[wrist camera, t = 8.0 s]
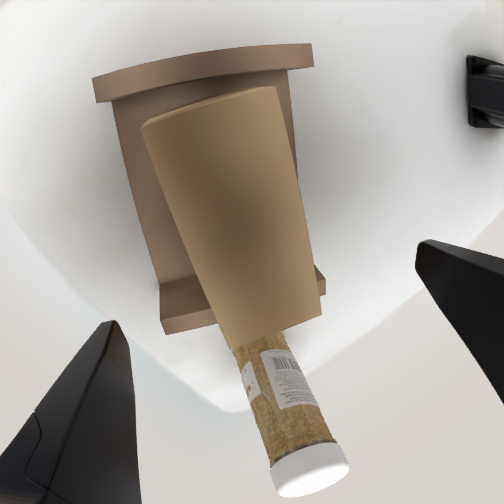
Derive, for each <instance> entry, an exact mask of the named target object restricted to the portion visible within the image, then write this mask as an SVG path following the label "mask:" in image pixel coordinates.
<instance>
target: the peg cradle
mask: <svg viewBox="0 0 504 504" xmlns="http://www.w3.org/2000/svg"><path fill="white" fill-rule="evenodd" d="M308 67H314V61H313V53H312V45H311V44H278V45H262V46H250V47H239V48H230V49H222V50H214V51H207V52H201V53H195V54H189V55H183V56H178V57H173V58H168V59H163V60H158V61H154V62H149V63H145V64H141V65H137V66H133V67H129V68H125V69H121V70H118V71H114V72H111V73H107V74H104V75H101V76H98V77H94V78H92V81H93V87H94V92H95V98H96V103H102V102H109V101H112V107H113V112H114V117H115V122H116V126H117V131H118V136H119V140H120V145H121V149H122V153H123V158H124V162H125V166H126V170H127V174H128V178H129V182H130V186H131V190H132V194H133V197H134V201H135V205H136V208H137V212H138V216H139V219H140V223H141V226H142V230H143V233H144V236H145V240H146V243H147V246H148V249H149V253H150V256H151V259H152V262H153V265H154V268H155V272H156V275H157V278H158V281H159V284H160V321H161V324H162V327H163V329H164V332H165V334H166V335H169V334H174V333H178V332H183V331H187V330H191V329H196V328H200V327H204V326H209V325H213V324H217V323H218V322H217V320H216V318H215V315H214V313H213V311H212V309H211V306H210V304H209V302H208V300H207V297H206V295H205V293H204V290H203V288H202V286H201V284H200V281H199V279H198V277H197V274H196V272H195V270H194V267H193V265H192V262H191V260H190V258H189V255H188V253H187V250H186V248H185V246H184V243H183V241H182V238H181V236H180V233H179V231H178V228H177V226H176V223H175V221H174V218H173V216H172V213H171V211H170V208H169V206H168V203H167V200H166V198H165V195H164V193H163V190H162V187H161V185H160V182H159V179H158V177H157V174H156V171H155V169H154V166H153V163H152V160H151V158H150V155H149V152H148V149H147V147H146V144H145V141H144V138H143V135H142V132H141V130H140V128H141V126H142V125H143V124H144V123H145V122H146V121H147V120H148V119H149V118H150V117H153V116H155V115H158V114H161V113H163V112H166V111H169V110H172V109H175V108H178V107H181V106H184V105H187V104H190V103H193V102H196V101H199V100H202V99H206V98H209V97H212V96H216V95H219V94H223V93H226V92H230V91H233V90H237V89H241V88H251V87H272V86H276V90H277V94H278V98H279V102H280V106H281V110H282V114H283V118H284V123H285V127H286V131H287V135H288V140H289V144H290V148H291V153H292V157H293V162H294V166H295V171H296V175H297V163H296V151H295V140H294V130H293V120H292V110H291V101H290V92H289V84H288V75H287V70H293V69H301V68H308ZM297 180H298V175H297ZM314 268H315V274H316V280H317V286H318V292H319V296H323V295H325V293H326V279H325V278H324V276H323V275H322V274H321V273H320V271H319V270H318V269H317V268H316V266H315V265H314Z"/></svg>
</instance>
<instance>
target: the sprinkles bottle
mask: <svg viewBox="0 0 504 504" xmlns="http://www.w3.org/2000/svg"><path fill="white" fill-rule="evenodd" d="M232 351H233V354H234V356H235V357H236V360H237V363H238V366H239V369H240V373H241V378H242V381H243V385H244V388H245V391H246V394H247V397H248V400H249V403H250V406H251V409H252V412H253V415H254V418H255V421H256V424H257V426H258V428H259V431H260V433H261V436H262V439H263V443H264V446H265V448H266V451H267V454H268V457H269V459H270V468H271V470H270V474H271V477H272V480H273V482H274V485H275V488H276V490H277V492H278V494H279V495H281V496H283V497H298V496H303V495H307V494H310V493H313V492H316V491H319V490H321V489H324V488H326V487H328V486H330V485H332V484H334V483H335V482H337V481H338V480H340V479H341V478H343V477H344V476H345V475H346V474H347V472H348V470H349V463H348V461H347V459H346V457H345V455H344V453H343V451H342V449H341V447H340V445H339V444H337V442H336V440H335V439H333V437H332V435H331V433H330V431H329V429H328V427H327V425H326V423H325V421H324V418H323V416H322V414H321V412H320V408H319V406H318V404H317V402H316V400H315V398H314V396H313V393H312V392H311V389H310V388H309V385H308V383H307V381H306V379H305V377H304V375H303V373H302V371H301V369H300V367H299V365H298V363H297V361H296V359H295V357H294V356H293V355H292V353H291V351H290V349H289V347H288V345H287V343H286V341H285V336H284V333H283V331H279V332H277V333H274V334H271V335H269V336H266V337H263V338H260V339H258V340H255V341H252V342H249V343H246V344H244V345H241V346H238V347H235V348H232Z"/></svg>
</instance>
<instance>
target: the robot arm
mask: <svg viewBox="0 0 504 504" xmlns="http://www.w3.org/2000/svg"><path fill="white" fill-rule="evenodd" d="M467 63H468V79H469V124H470V126H472V127H475V128H504V64H501V63H497V62H494V61H491V60H487V59H484V58H480V57H477V56H472V55H469V56H468V58H467ZM415 269H416V272H417V274H418V275H419V277H420V278H421V280H422V281H423V283H424V285H425V286H426V288H427V289H428V291H429V292H430V294H431V296H432V297H433V299H434V301H435V302H436V304H437V305H438V307H439V308H440V309H441V311H442V312H443V314H444V315H445V317H446V318H447V319H448V321H449V322H450V323H451V325H452V326H453V328H454V329H455V330H456V332H457V333H458V335H459V336H460V337H461V339H462V340H463V342H464V343H465V345H466V346H467V348H468V349H469V351H470V352H471V353H472V355H473V356H474V358H475V359H476V361H477V362H478V364H479V366H480V367H481V369H482V370H483V372H484V373H485V375H486V376H487V378H488V379H489V381H490V383H491V384H492V386H493V387H494V389H495V391H496V392H497V394H498V396H499V397H500V399H501V401H502V403H503V404H504V259H502V258H499V257H495V256H492V255H488V254H484V253H481V252H477V251H473V250H470V249H466V248H462V247H458V246H455V245H451V244H447V243H443V242H439V241H435V240H431V239H428V240H425V241H422V242H420V243H419V244H418V247H417V254H416V260H415ZM34 411H35V413H34V412H33V413H32V414H31V416H30V417H29V419H28V420H27V421H26V423H25V424H24V425H23V427H22V428H21V430H20V431H19V432H18V434H17V435H16V437H15V438H14V439H13V441H12V442H11V443H10V444H9V446H8V447H7V448H6V450H5V451H4V452H3V453H2V454H1V456H0V504H142V501H141V492H140V482H139V470H138V456H137V438H136V412H135V411H136V409H135V393H134V385H133V377H132V368H131V358H130V349H129V345H128V342H127V340H126V338H125V336H124V334H123V332H122V330H121V328H120V326H119V324H118V322H117V321H115V320H111V321H106V322H102V323H101V324H100V325H99V326H98V328H97V329H96V330H95V331H94V333H93V334H92V335H91V336H90V338H89V339H88V340H87V341H86V343H85V344H84V345H83V346H82V348H81V349H80V350H79V351H78V353H77V354H76V355H75V356H74V358H73V359H72V361H71V362H70V363H69V364H68V366H67V367H66V368H65V369H64V371H63V372H62V373H61V375H60V376H59V378H58V379H57V380H56V381H55V383H54V384H53V385H52V387H51V388H50V390H49V391H48V392H47V393H46V395H45V396H44V398H43V399H42V400H41V402H40V403H39V405H38V406H37V407H36V409H35V410H34Z"/></svg>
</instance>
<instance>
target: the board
mask: <svg viewBox="0 0 504 504" xmlns="http://www.w3.org/2000/svg"><path fill="white" fill-rule="evenodd" d="M140 130H141V132H142V135H143V138H144V141H145V144H146V147H147V149H148V152H149V155H150V158H151V160H152V163H153V166H154V169H155V171H156V174H157V177H158V179H159V182H160V185H161V187H162V190H163V193H164V195H165V198H166V200H167V203H168V206H169V208H170V211H171V213H172V216H173V218H174V221H175V223H176V226H177V228H178V231H179V233H180V236H181V238H182V241H183V243H184V246H185V248H186V250H187V253H188V255H189V258H190V260H191V262H192V265H193V267H194V270H195V272H196V274H197V277H198V279H199V281H200V284H201V286H202V288H203V290H204V293H205V295H206V297H207V300H208V302H209V304H210V306H211V309H212V311H213V313H214V315H215V318H216V320H217V322H218V324H219V326H220V329H221V331H222V333H223V335H224V337H225V340H226V342H227V344H228V346H229V348H230V349H232V348H235V347H238V346H241V345H244V344H246V343H249V342H252V341H255V340H258V339H260V338H263V337H266V336H269V335H271V334H274V333H277V332H279V331H282V330H284V329H287V328H290V327H292V326H295V325H297V324H300V323H302V322H305V321H308V320H310V319H312V318H315V317H317V316H320V315H322V311H321V304H320V298H319V292H318V286H317V280H316V274H315V268H314V262H313V257H312V251H311V246H310V240H309V235H308V230H307V225H306V219H305V214H304V209H303V204H302V199H301V194H300V190H299V185H298V180H297V175H296V171H295V166H294V162H293V157H292V153H291V148H290V144H289V140H288V135H287V131H286V127H285V123H284V118H283V114H282V110H281V106H280V102H279V98H278V94H277V90H276V86H272V87H251V88H241V89H237V90H233V91H230V92H226V93H223V94H219V95H216V96H212V97H209V98H206V99H202V100H199V101H196V102H193V103H190V104H187V105H184V106H181V107H178V108H175V109H172V110H169V111H166V112H163V113H161V114H158V115H155V116H153V117H150V118H149V119H148V120H147V121H146V122H145V123H144V124H143V125H142V126H141V128H140Z"/></svg>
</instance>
